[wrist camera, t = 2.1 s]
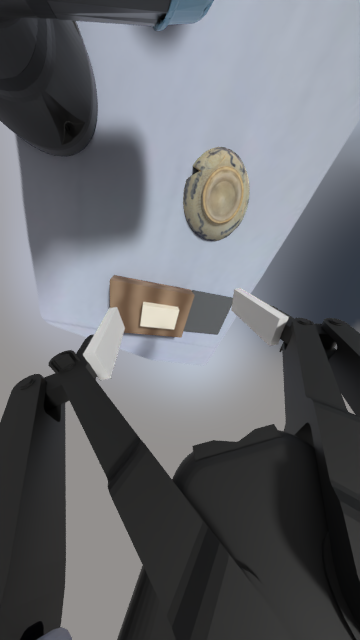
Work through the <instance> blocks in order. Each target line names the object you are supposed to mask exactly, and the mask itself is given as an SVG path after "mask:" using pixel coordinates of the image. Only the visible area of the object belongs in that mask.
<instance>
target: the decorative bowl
mask: <svg viewBox="0 0 360 640" xmlns="http://www.w3.org/2000/svg"><path fill="white" fill-rule="evenodd" d="M193 167H194V168H196V169H197V170H199V172H197V173H195V174H193V175H192V176H191V177H189V178H188V179H187V180H186V184H185V188H184V196H183V205H184V212H185V216H186V219H187V221H188V224H189V225H190V227H191V228H192V230H193V231H194V232H195V233H196V234H197V235H198V236H199V237H201V238H203V239H205V240H210V241H217V240H221V239H223V238H225V237H227V236H229V235H230V234H231V233H232V232H233V231H234V230H235V229H236V228H237V227H238V226H239V224H240V223H241V221H242V219H243V217H244V215H245V212H246V209H247V206H248V201H249V180H248V175H247V171H246V169H245V166H244V164H243V162H242V161H241V159H240V158H239V156H238V155H237V154H236V153H235V152H233V151H232V150H230V149H227V148H225V147H217V148H213V149H210V150H208V151H206V152H205V153H204V154H202V156H201V157H199V158H198V159H197V161H196V162H195V163H194V165H193Z"/></svg>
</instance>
